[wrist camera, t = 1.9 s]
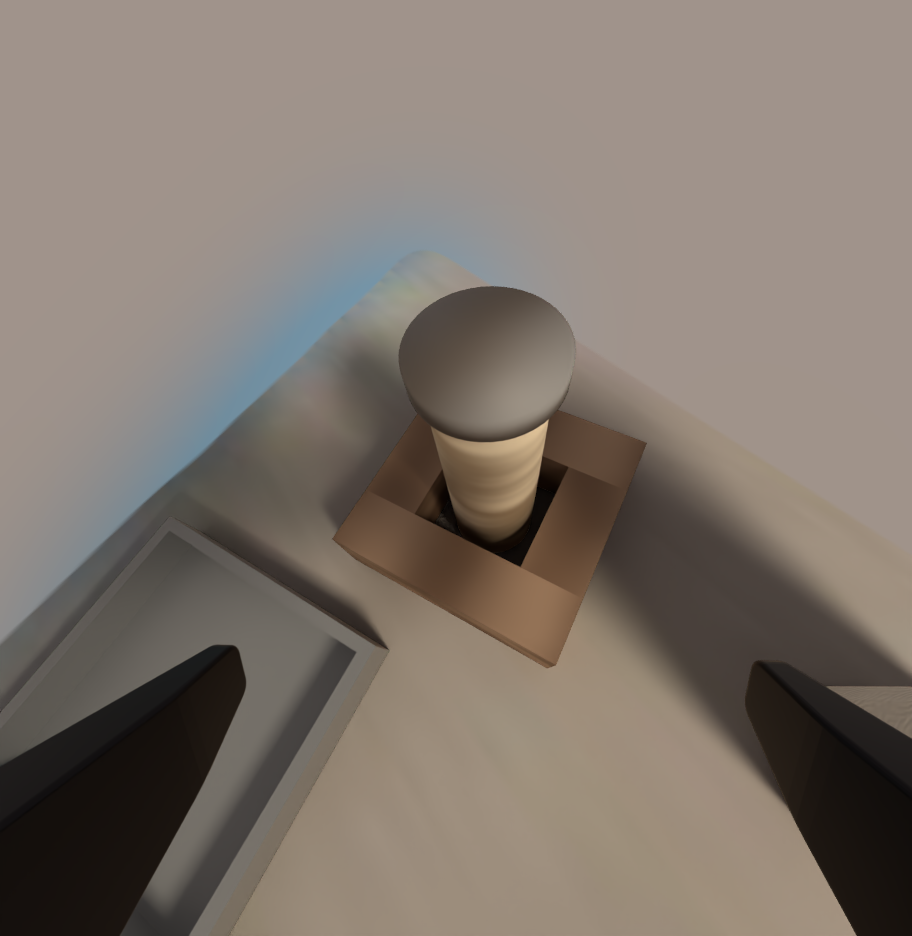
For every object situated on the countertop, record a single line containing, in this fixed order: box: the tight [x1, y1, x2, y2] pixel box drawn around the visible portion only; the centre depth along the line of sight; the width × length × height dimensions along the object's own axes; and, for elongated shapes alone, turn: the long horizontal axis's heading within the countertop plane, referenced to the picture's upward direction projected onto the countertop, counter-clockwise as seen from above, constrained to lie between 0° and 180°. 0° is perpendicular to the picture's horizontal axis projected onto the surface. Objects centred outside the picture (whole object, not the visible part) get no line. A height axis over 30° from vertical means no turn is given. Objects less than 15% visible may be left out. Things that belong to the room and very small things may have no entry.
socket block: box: [333, 410, 647, 668], centre depth 21 cm, size 11×11×4 cm
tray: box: [0, 516, 389, 936], centre depth 19 cm, size 13×13×2 cm
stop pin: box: [399, 286, 576, 553], centre depth 17 cm, size 5×5×13 cm
